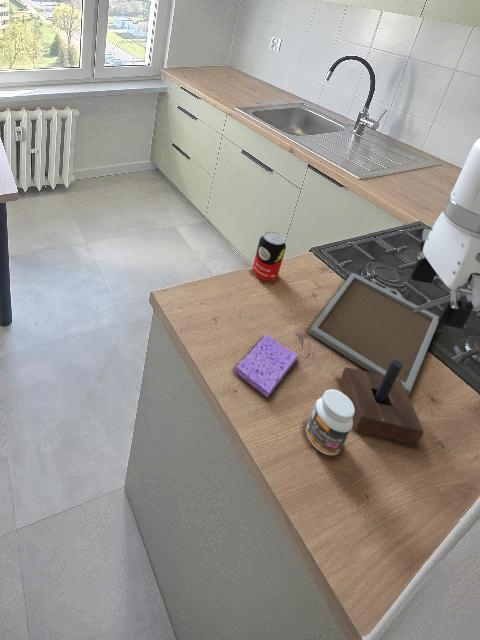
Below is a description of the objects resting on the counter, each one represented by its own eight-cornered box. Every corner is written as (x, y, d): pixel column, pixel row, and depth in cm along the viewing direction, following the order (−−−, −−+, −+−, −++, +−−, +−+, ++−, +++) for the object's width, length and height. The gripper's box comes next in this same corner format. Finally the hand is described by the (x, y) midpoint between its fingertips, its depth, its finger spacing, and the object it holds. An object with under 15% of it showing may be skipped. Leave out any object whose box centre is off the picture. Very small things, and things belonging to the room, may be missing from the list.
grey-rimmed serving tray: (309, 328, 93) (355, 267, 112) (308, 333, 94) (354, 272, 113) (410, 392, 80) (443, 311, 99) (407, 397, 81) (440, 316, 100)
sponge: (234, 372, 84) (236, 366, 83) (265, 338, 92) (267, 332, 91) (267, 399, 79) (269, 392, 79) (296, 360, 87) (298, 354, 87)
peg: (376, 407, 79) (400, 360, 74) (380, 416, 78) (404, 368, 72) (367, 405, 79) (390, 358, 74) (370, 413, 78) (393, 366, 73)
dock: (393, 392, 82) (400, 379, 80) (416, 446, 73) (424, 431, 71) (339, 380, 84) (345, 366, 82) (355, 430, 75) (361, 416, 73)
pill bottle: (303, 444, 72) (318, 408, 68) (307, 415, 77) (321, 379, 73) (340, 464, 70) (358, 427, 66) (341, 433, 74) (358, 397, 70)
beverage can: (249, 264, 114) (258, 228, 109) (273, 267, 113) (283, 231, 108) (254, 280, 108) (264, 244, 103) (279, 284, 107) (290, 247, 102)
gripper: (548, 259, 54) (492, 351, 61) (472, 190, 69) (434, 270, 76) (481, 248, 55) (433, 339, 62) (421, 183, 71) (388, 262, 78)
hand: (434, 301), depth 69 cm, fingers open, 9 cm apart
